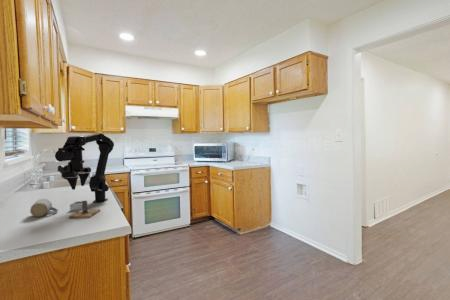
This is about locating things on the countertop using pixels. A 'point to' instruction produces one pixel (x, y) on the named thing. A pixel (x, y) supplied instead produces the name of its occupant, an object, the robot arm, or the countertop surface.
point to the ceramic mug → (42, 208)
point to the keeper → (84, 212)
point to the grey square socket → (76, 206)
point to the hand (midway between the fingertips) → (78, 187)
